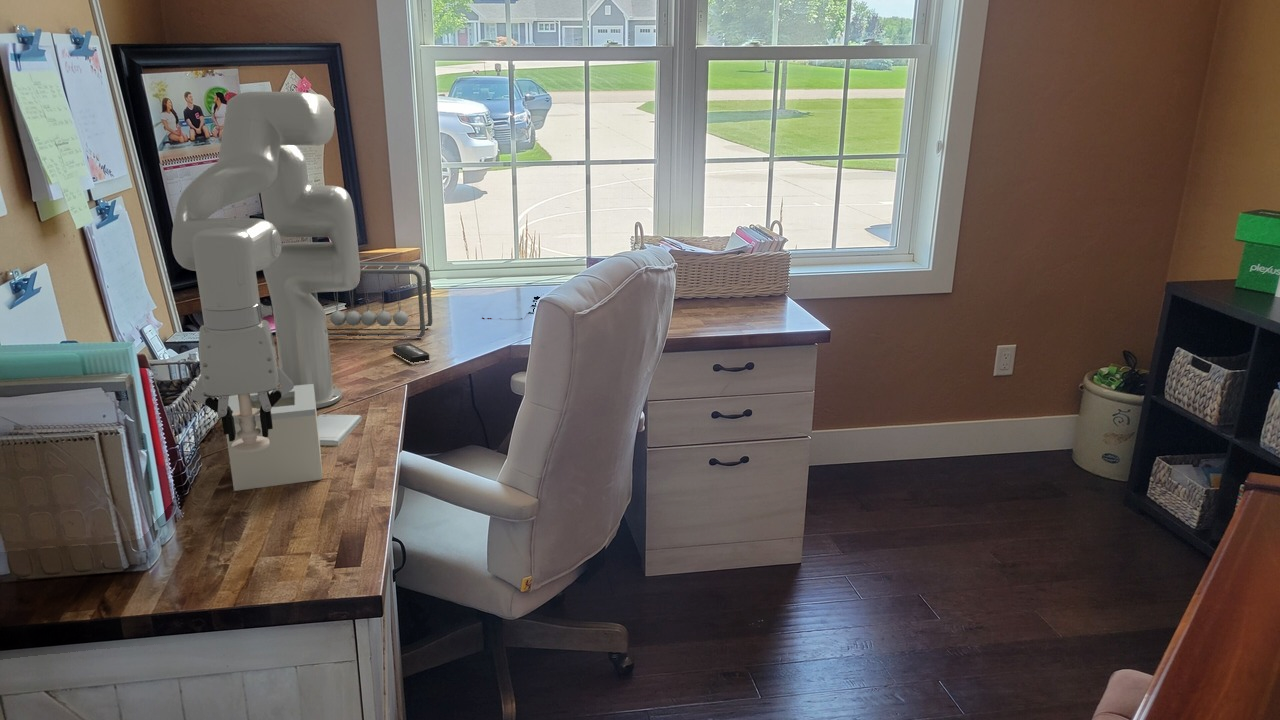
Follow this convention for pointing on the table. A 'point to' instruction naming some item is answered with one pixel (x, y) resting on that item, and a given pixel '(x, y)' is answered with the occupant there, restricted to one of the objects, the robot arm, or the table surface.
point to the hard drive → (336, 428)
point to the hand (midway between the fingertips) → (249, 434)
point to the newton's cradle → (383, 316)
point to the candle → (248, 428)
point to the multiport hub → (411, 352)
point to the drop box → (280, 443)
